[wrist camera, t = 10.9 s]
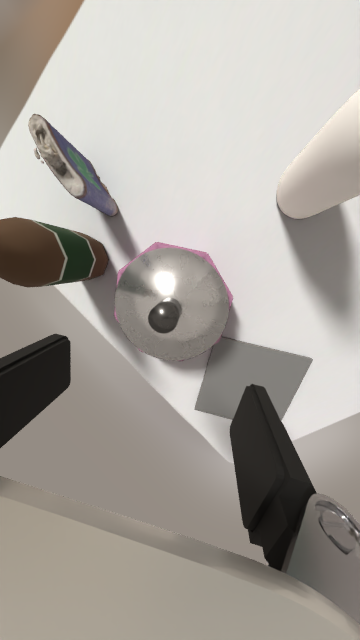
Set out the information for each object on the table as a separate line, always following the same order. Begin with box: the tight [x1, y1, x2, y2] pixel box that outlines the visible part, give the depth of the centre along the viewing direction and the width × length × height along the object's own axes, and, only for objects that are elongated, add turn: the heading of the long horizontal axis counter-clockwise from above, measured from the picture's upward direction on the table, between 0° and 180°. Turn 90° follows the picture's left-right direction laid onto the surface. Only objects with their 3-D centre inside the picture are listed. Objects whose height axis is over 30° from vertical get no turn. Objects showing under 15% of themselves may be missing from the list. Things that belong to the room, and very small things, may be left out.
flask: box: [28, 114, 118, 216], centre depth 24 cm, size 9×3×11 cm, turn 31°
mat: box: [195, 337, 313, 420], centre depth 36 cm, size 18×18×1 cm
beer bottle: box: [0, 217, 108, 287], centre depth 21 cm, size 8×8×24 cm
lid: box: [115, 248, 229, 361], centre depth 24 cm, size 17×17×6 cm
